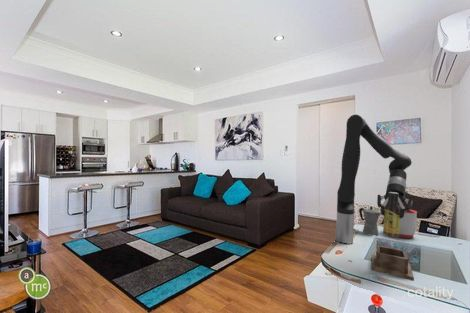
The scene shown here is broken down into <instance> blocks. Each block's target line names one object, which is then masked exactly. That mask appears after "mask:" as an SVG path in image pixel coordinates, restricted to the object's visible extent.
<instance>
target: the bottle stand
mask: <svg viewBox="0 0 470 313" xmlns="http://www.w3.org/2000/svg"><path fill="white" fill-rule="evenodd" d="M371 270H372V271H374V270H375V272H379V273H383V274H387V273H388V274H387V275H392V276H396V277H400V278H403V279H408V280H411V281H414V280H415V277H414V276H415V275H414V273H413V270H412V267H411V264H410V262H409V257H408V254H407V251H406V250H405V249H399V248H394V247H389V246H384V245H379V244H377V245H376V254H372V256H371Z"/></svg>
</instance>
